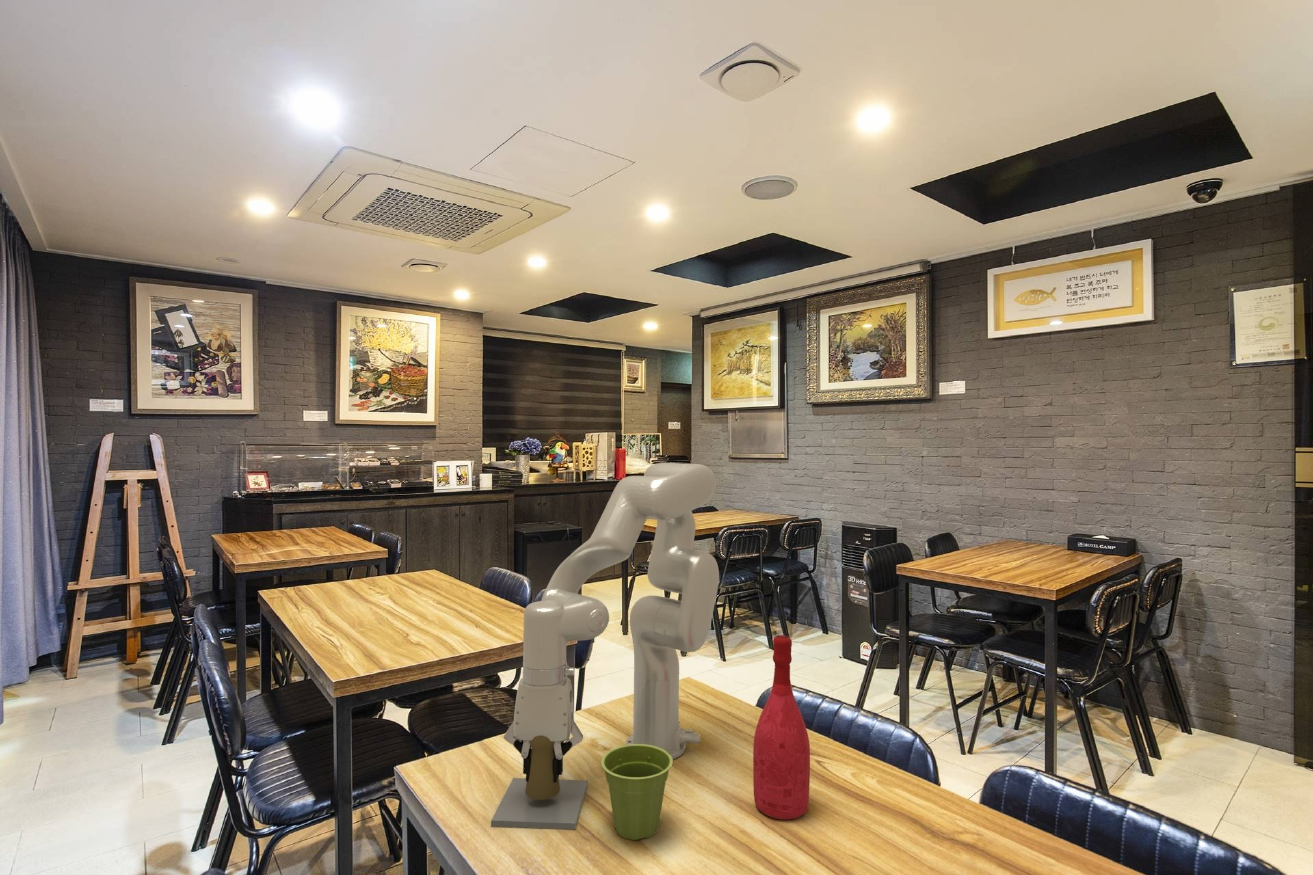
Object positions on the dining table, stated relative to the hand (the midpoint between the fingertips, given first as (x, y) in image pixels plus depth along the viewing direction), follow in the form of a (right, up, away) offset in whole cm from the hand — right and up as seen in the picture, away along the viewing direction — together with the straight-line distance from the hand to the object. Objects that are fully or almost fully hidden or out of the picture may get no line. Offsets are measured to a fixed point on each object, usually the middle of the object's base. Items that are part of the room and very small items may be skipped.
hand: (542, 776), depth 114 cm
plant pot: (+17, -5, -7) cm, 19 cm away
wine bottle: (+42, -6, 0) cm, 42 cm away
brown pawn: (0, -2, 0) cm, 2 cm away
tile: (0, -5, 0) cm, 5 cm away
